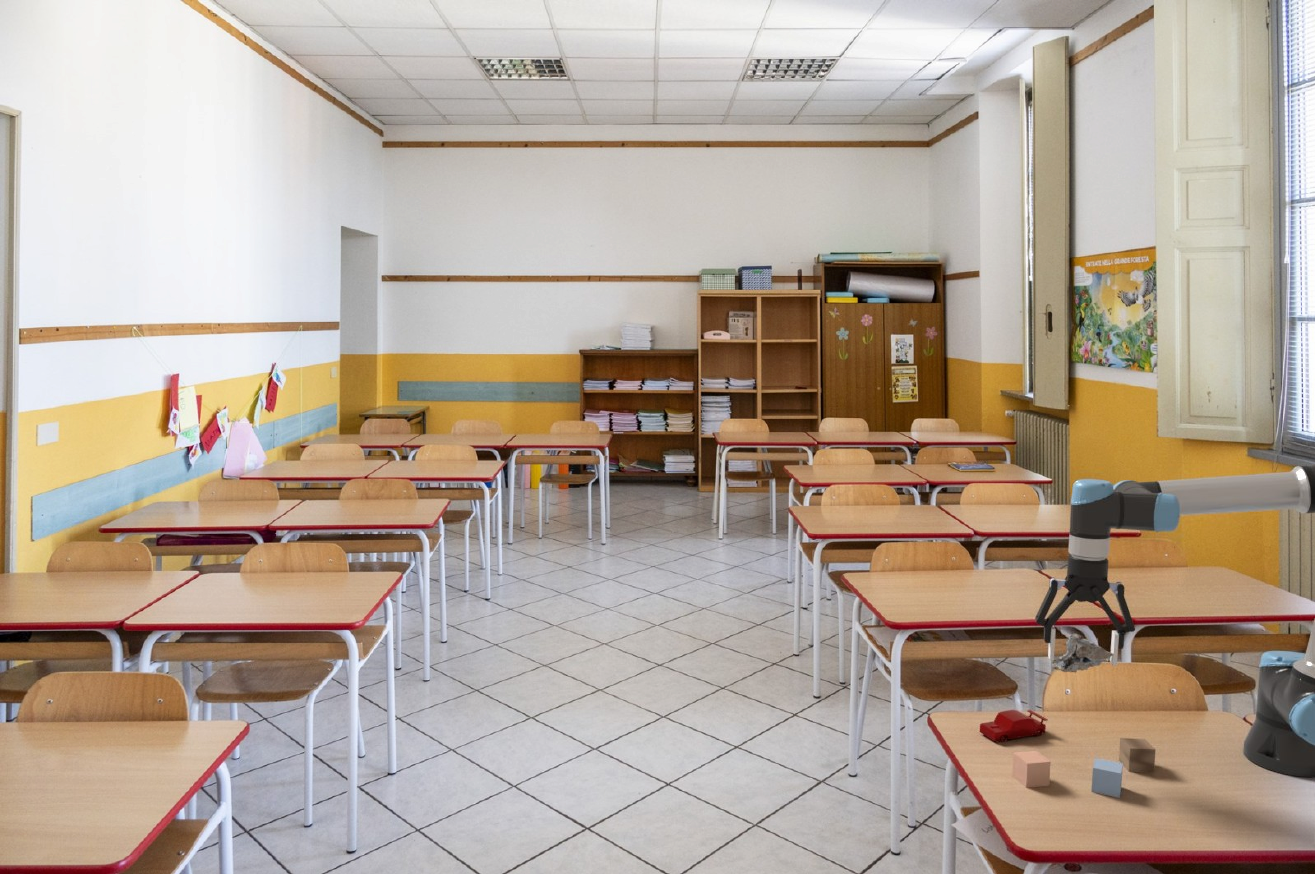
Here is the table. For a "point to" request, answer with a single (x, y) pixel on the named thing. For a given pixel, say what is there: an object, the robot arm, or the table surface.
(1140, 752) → the walnut cube
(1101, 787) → the slate-blue cube
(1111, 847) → the table surface
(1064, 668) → the mineral specimen
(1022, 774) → the salmon-pink cube
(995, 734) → the toy car
